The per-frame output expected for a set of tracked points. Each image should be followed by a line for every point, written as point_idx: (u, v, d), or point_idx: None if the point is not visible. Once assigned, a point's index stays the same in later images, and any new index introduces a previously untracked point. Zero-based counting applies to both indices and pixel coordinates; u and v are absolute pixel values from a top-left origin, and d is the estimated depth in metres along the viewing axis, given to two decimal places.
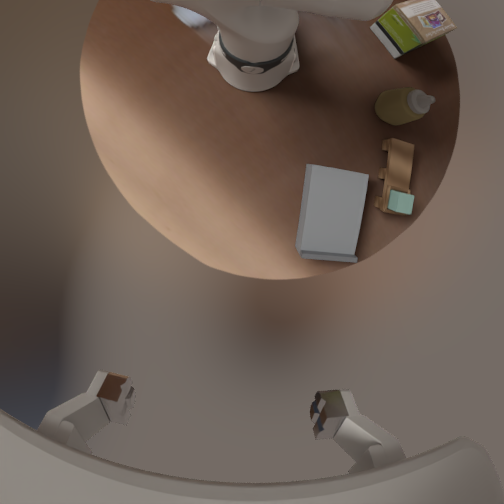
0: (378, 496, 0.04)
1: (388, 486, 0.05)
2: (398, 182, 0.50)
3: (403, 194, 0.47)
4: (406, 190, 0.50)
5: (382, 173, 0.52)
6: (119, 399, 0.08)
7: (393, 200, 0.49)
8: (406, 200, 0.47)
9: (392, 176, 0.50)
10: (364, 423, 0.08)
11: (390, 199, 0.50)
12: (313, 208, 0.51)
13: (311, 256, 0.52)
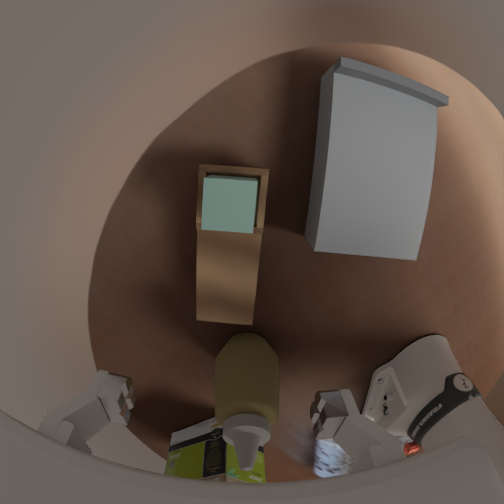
0: (378, 496, 0.04)
1: (388, 486, 0.05)
2: (229, 240, 0.25)
3: (239, 229, 0.21)
4: None
5: None
6: (119, 399, 0.08)
7: None
8: (226, 214, 0.20)
9: (248, 251, 0.26)
10: (364, 423, 0.08)
11: None
12: (422, 182, 0.23)
13: (434, 94, 0.18)
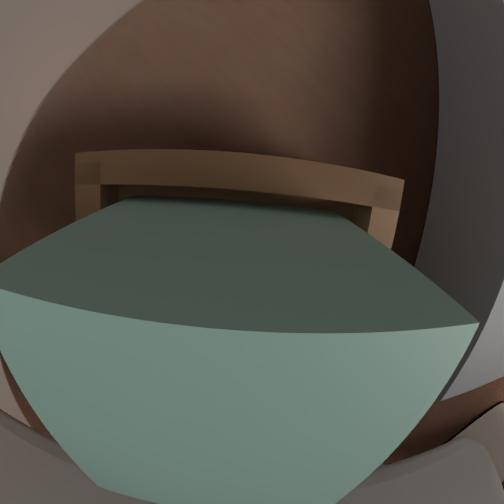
0: (378, 496, 0.04)
1: (388, 486, 0.05)
2: None
3: None
4: None
5: None
6: None
7: None
8: (205, 491, 0.02)
9: None
10: None
11: None
12: None
13: None
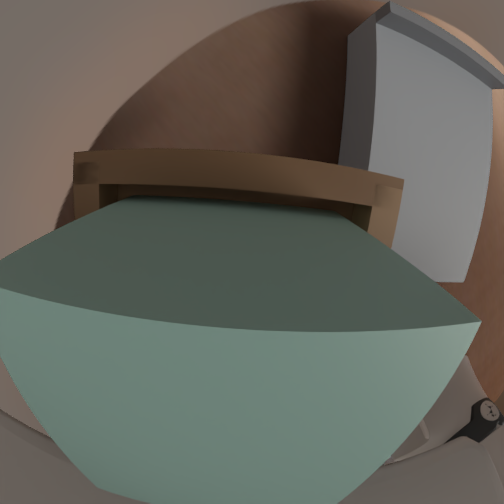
0: (378, 496, 0.04)
1: (388, 486, 0.05)
2: None
3: None
4: None
5: None
6: None
7: None
8: (203, 492, 0.02)
9: None
10: None
11: None
12: (479, 182, 0.14)
13: (495, 72, 0.09)
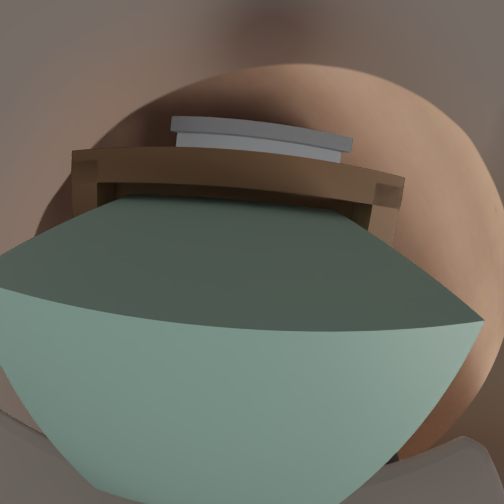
0: (378, 496, 0.04)
1: (388, 486, 0.05)
2: None
3: None
4: None
5: None
6: None
7: None
8: (202, 493, 0.02)
9: None
10: None
11: None
12: None
13: (325, 139, 0.16)
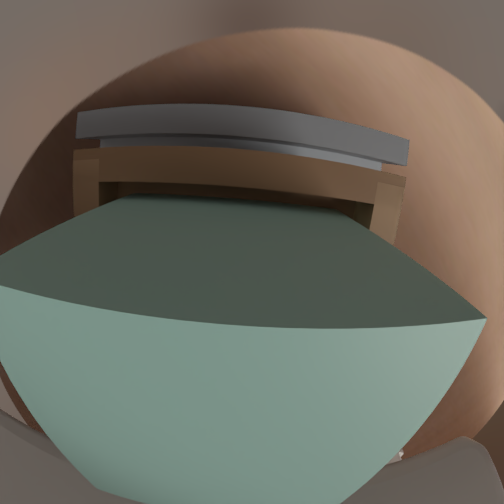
0: (378, 496, 0.04)
1: (388, 486, 0.05)
2: None
3: None
4: None
5: None
6: None
7: None
8: (203, 494, 0.02)
9: None
10: None
11: None
12: None
13: (363, 140, 0.08)
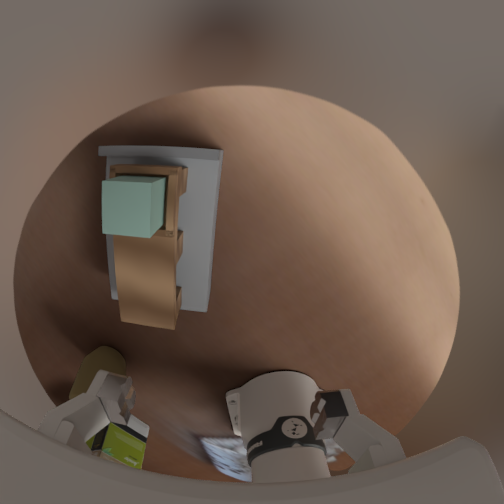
0: (378, 496, 0.04)
1: (388, 486, 0.05)
2: (143, 242, 0.23)
3: (136, 233, 0.18)
4: None
5: (179, 247, 0.26)
6: (119, 399, 0.08)
7: (157, 206, 0.20)
8: (123, 218, 0.18)
9: (161, 254, 0.23)
10: (364, 423, 0.08)
11: (161, 202, 0.21)
12: (198, 243, 0.28)
13: (197, 153, 0.23)
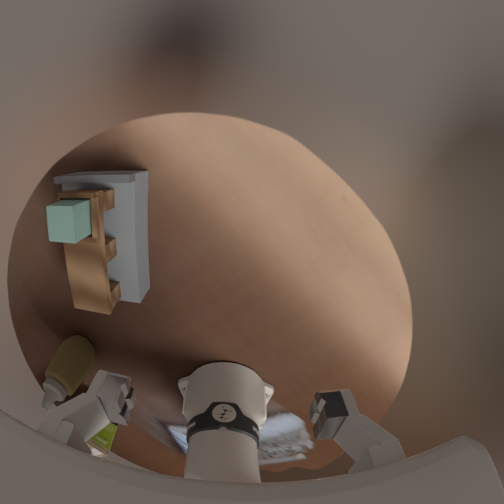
0: (378, 496, 0.04)
1: (388, 486, 0.05)
2: (81, 247, 0.28)
3: (67, 240, 0.24)
4: None
5: (110, 250, 0.31)
6: (119, 399, 0.08)
7: (82, 220, 0.25)
8: (59, 230, 0.23)
9: (93, 255, 0.29)
10: (364, 423, 0.08)
11: (87, 217, 0.26)
12: (127, 247, 0.33)
13: (114, 178, 0.28)
